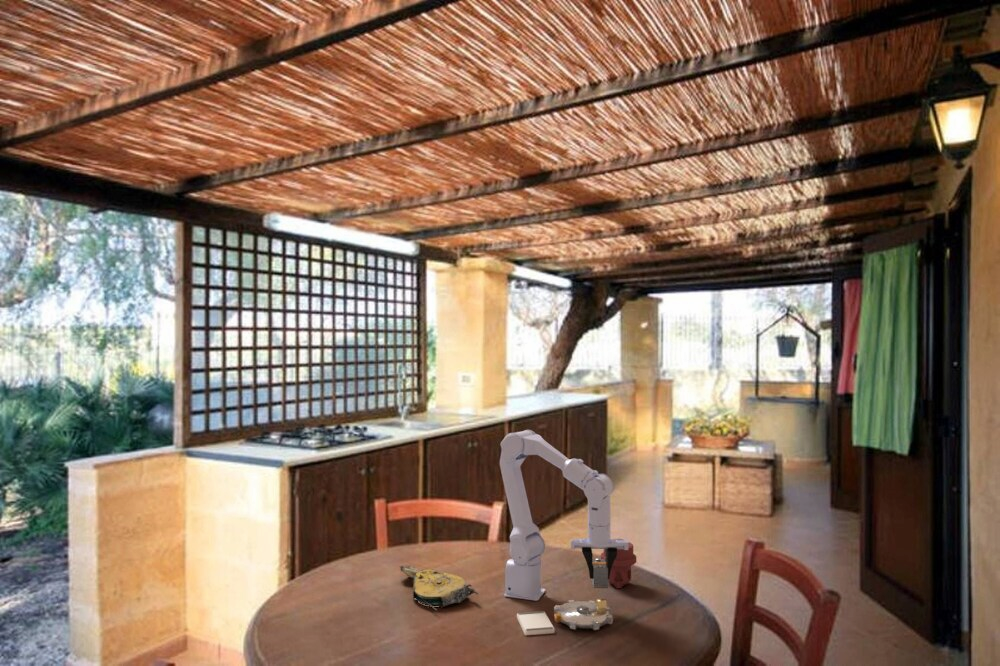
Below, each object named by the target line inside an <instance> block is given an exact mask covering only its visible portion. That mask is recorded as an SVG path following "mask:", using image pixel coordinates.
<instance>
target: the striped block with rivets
mask: <svg viewBox="0 0 1000 666" xmlns="http://www.w3.org/2000/svg"><path fill="white" fill-rule="evenodd" d="M592 569H593V579H591V583H592V586H593V589H609V582H608V567H607V564H606V562H605V559H601V557H600V558H592Z"/></svg>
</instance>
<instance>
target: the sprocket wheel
mask: <svg viewBox="0 0 1000 666" xmlns="http://www.w3.org/2000/svg"><path fill="white" fill-rule="evenodd" d="M553 610H554V611H553V613H554V614H553V616H554V617H553V620H554V622H556V623H562V624H564V625H567V626H568V627H569V629H572V630H576V629H578V628H579V629H592V630H593V631H597V630H600V627H602V626H605V625H606V624H609V625H612V624H613V622H614V615H612V608H611V607H610V606H608V604H607V599H606V598H602V597H600V598H596V601H595V600H591V599H590V600H589V601H583V600H578V601H577V600H576V601H575V600H574V599H570V600H567V602H566V603H563V604H561V605H559V604H555V606H553Z"/></svg>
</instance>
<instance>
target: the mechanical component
mask: <svg viewBox="0 0 1000 666" xmlns="http://www.w3.org/2000/svg"><path fill="white" fill-rule="evenodd" d="M615 539H616V540H624V539H621V538H615ZM600 559H605V562H606V550H605V549H603V551H602V553H600ZM636 563H637V555H636V554H634V544H633V543H631V542H630V541H628V550H624V549H617V557H616V558H615V560H614V562H613V565H612V568H611V571H610V576H609V579H608V584H612V586H613V585H614V586H615V588H616V589H618V588H620V589H622V587H624V586H625V585H629V584H630V582H631V581H632V566H634V565H635V564H636Z"/></svg>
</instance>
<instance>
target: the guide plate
mask: <svg viewBox="0 0 1000 666" xmlns="http://www.w3.org/2000/svg"><path fill="white" fill-rule="evenodd" d="M516 619H517V621H518V623H519V626H520V628H521V629H522V631H523V634H524V636H532V635H534V636H535V635H536V636H537V635H548V634H555V632H556V631H555V630H556V629H555V627H554V626H553V624H552V622H551V621H550V618H549V617H548V615H547V613H546V612H545V611H543V610H542V611H541V610H540V611H539V610H538V611H527V612H525V611H524V612H518V613H516Z"/></svg>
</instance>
